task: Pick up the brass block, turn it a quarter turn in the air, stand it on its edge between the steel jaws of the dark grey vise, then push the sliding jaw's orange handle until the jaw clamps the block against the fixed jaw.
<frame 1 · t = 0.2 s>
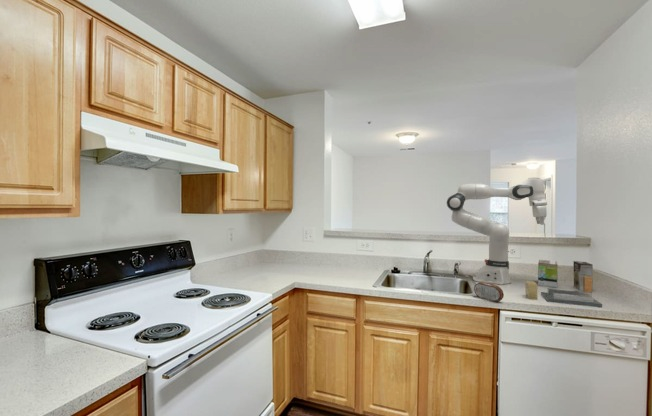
hand: (540, 224, 189), 39 cm above the countertop, tool pointing down, fingers open, 8 cm apart
tea box: (547, 284, 190), on the countertop
tin: (488, 299, 158), on the countertop
coffee box: (582, 289, 178), on the countertop
sliding jaw: (568, 285, 161), point 7 cm above the countertop, slide at 4.0 cm
brass block: (531, 297, 162), on the countertop
vise: (570, 301, 155), on the countertop
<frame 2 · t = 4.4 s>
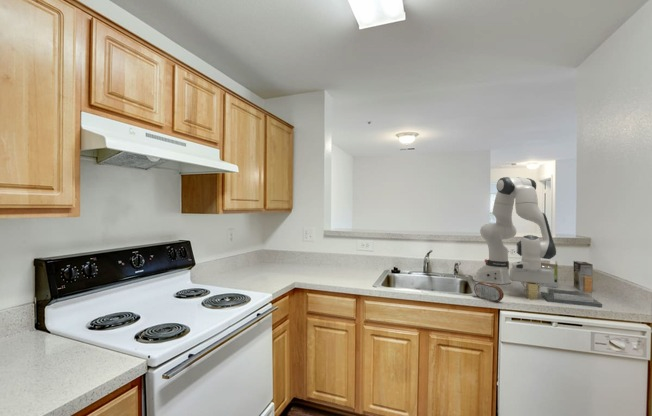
hand: (531, 290, 162), 4 cm above the countertop, tool pointing down, fingers closed on brass block, 4 cm apart
brass block: (531, 297, 162), on the countertop, touching gripper
everything else where it was.
when the fingers open (6 cm above the countertop, at t = 9.9 s): brass block stays where it is, resting on vise.
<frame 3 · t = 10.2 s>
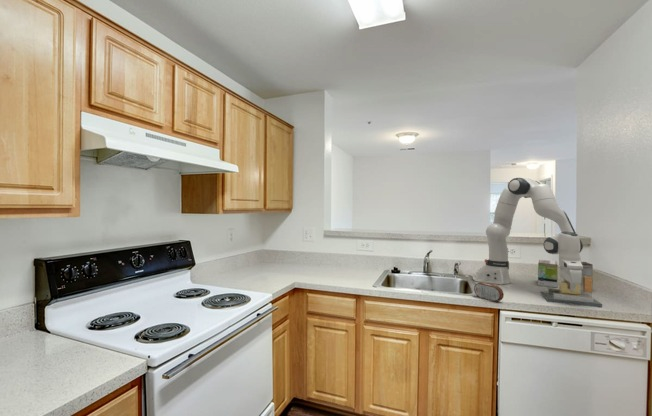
hand: (569, 289, 156), 6 cm above the countertop, tool pointing down, fingers open, 6 cm apart
brass block: (569, 297, 156), point 1 cm above the countertop, touching vise
everything else where it was.
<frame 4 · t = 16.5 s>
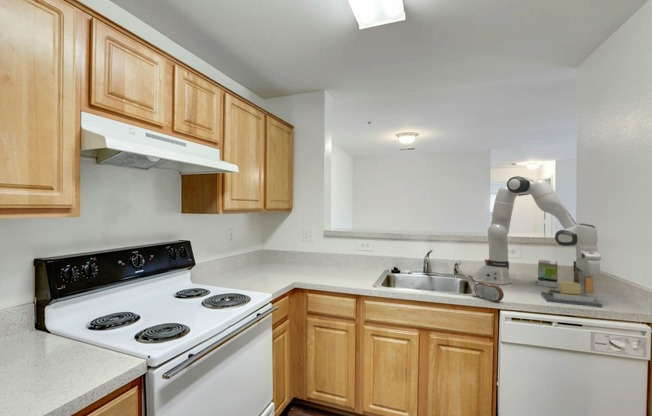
hand: (587, 279, 159), 10 cm above the countertop, tool pointing down, fingers closed
sliding jaw: (569, 285, 160), point 7 cm above the countertop, slide at 2.5 cm, touching gripper
everything else where it was.
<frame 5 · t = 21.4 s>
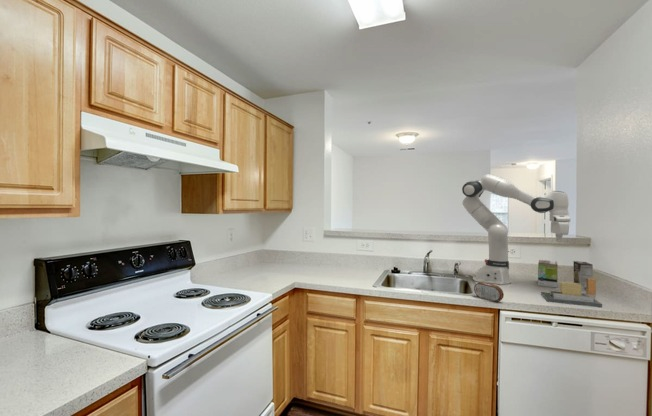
hand: (559, 241, 175), 29 cm above the countertop, tool pointing down, fingers closed
sliding jaw: (571, 286, 157), point 7 cm above the countertop, slide at -0.5 cm, touching brass block
brass block: (570, 298, 155), point 1 cm above the countertop, touching sliding jaw, vise
everything else where it was.
at the end: brass block 0.0 cm off-centre on the vise, point 1.5 cm above the vise's base; brass block tilted 0°; brass block touching sliding jaw, vise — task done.
